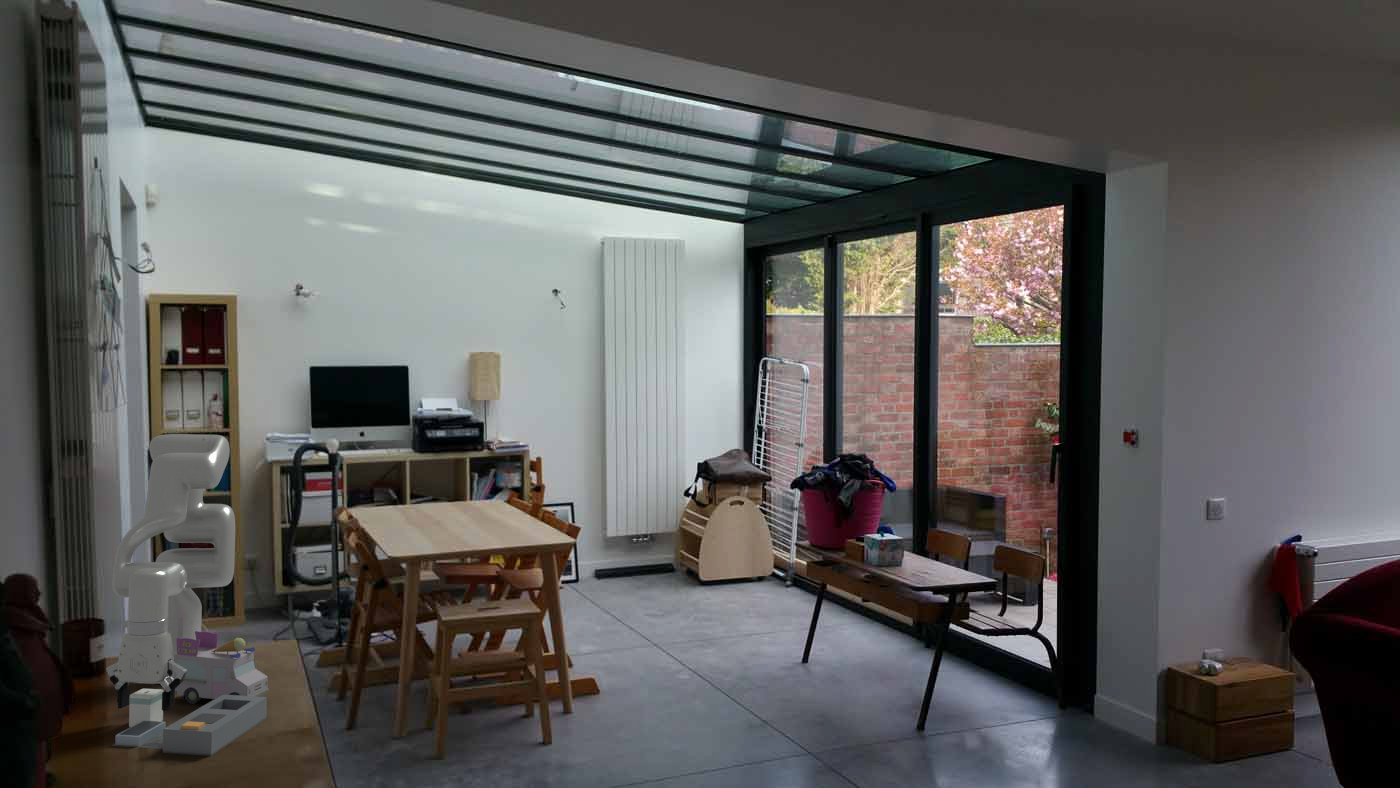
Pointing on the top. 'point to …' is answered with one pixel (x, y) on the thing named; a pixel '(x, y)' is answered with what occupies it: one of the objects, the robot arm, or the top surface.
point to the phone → (140, 733)
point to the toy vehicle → (217, 668)
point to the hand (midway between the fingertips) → (145, 707)
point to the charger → (145, 706)
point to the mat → (150, 743)
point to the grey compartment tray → (214, 725)
